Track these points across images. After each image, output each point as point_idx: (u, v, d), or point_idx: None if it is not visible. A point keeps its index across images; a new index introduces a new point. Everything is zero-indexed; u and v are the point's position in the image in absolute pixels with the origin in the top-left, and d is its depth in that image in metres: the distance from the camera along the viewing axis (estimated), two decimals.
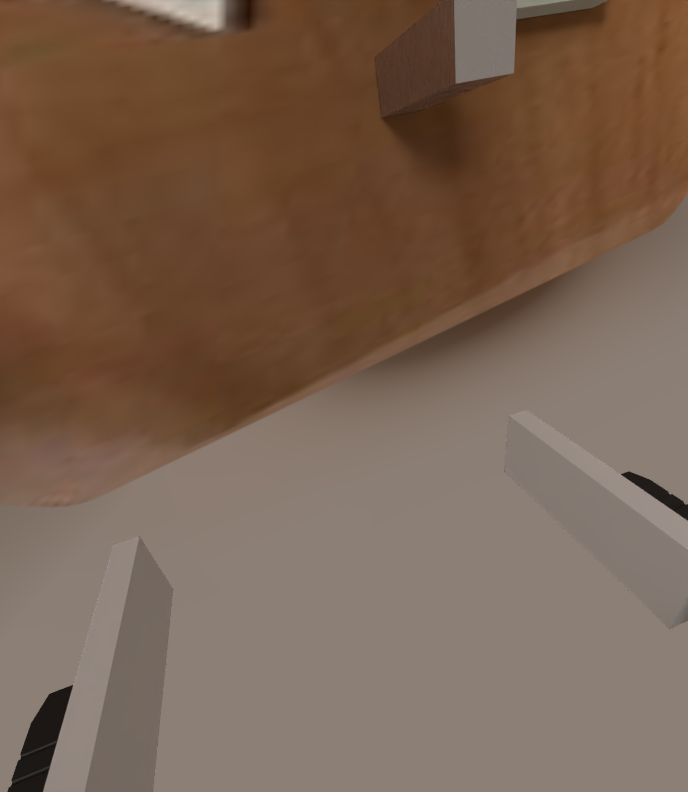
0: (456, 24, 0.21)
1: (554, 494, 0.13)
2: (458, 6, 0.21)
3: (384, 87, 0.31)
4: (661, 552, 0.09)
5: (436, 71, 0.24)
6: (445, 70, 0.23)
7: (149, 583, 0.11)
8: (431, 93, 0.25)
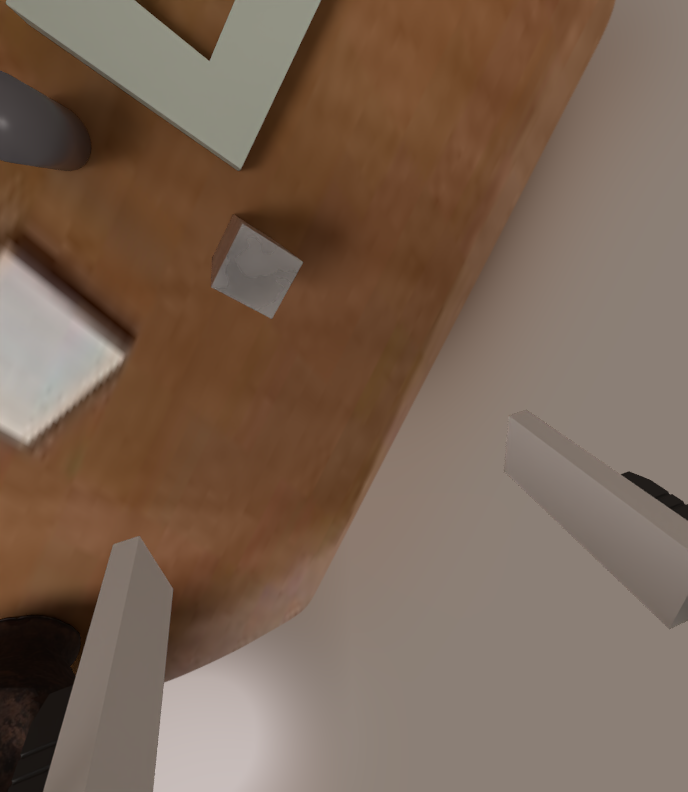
0: (234, 296, 0.23)
1: (554, 494, 0.13)
2: (223, 288, 0.22)
3: None
4: (661, 552, 0.09)
5: None
6: None
7: (149, 583, 0.11)
8: None
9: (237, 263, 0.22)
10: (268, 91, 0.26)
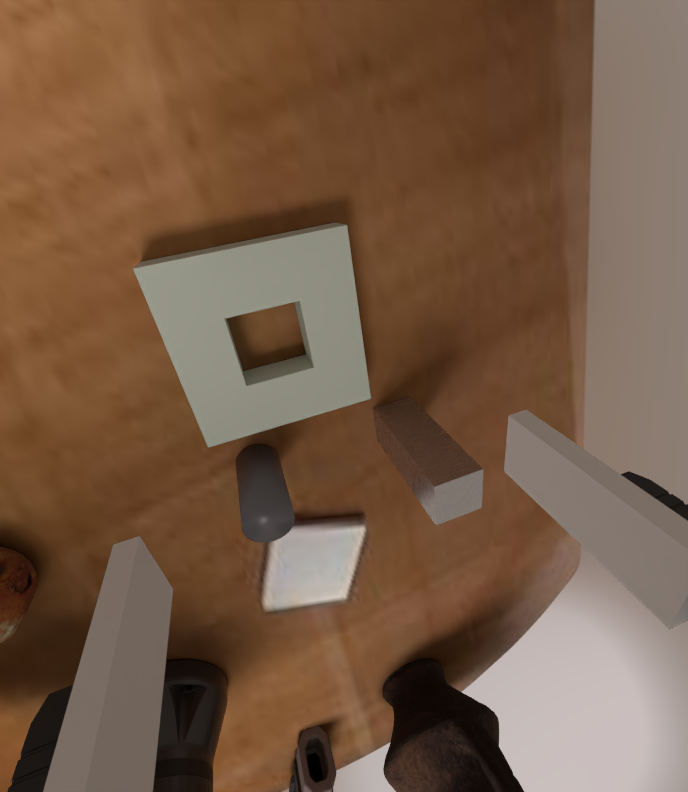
0: (452, 517, 0.29)
1: (554, 494, 0.13)
2: (443, 519, 0.29)
3: None
4: (661, 552, 0.09)
5: None
6: None
7: (149, 583, 0.11)
8: None
9: (443, 504, 0.28)
10: (357, 345, 0.30)
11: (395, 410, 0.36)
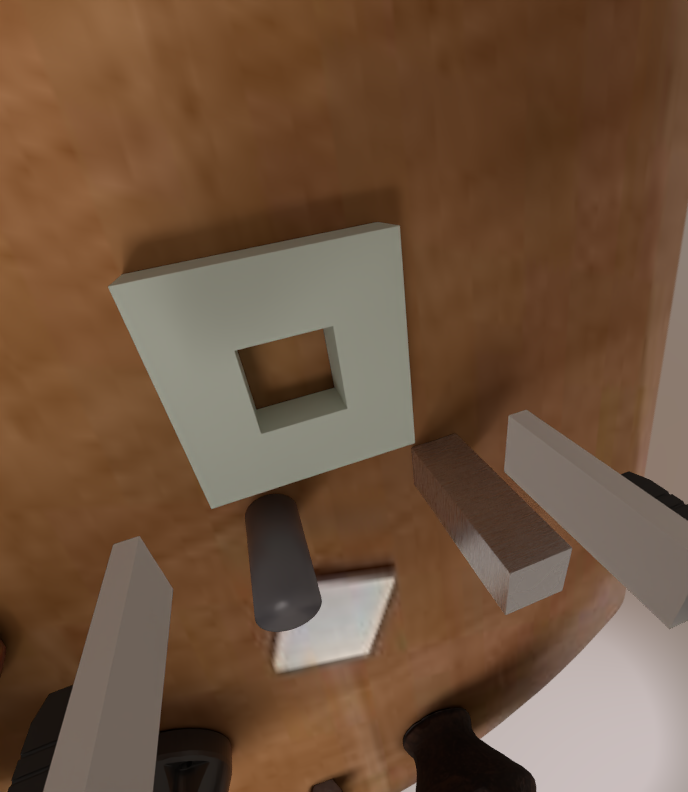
0: (525, 605, 0.23)
1: (554, 494, 0.13)
2: (515, 608, 0.22)
3: None
4: (661, 552, 0.09)
5: None
6: None
7: (149, 583, 0.11)
8: None
9: (518, 591, 0.22)
10: (402, 379, 0.24)
11: (440, 452, 0.30)
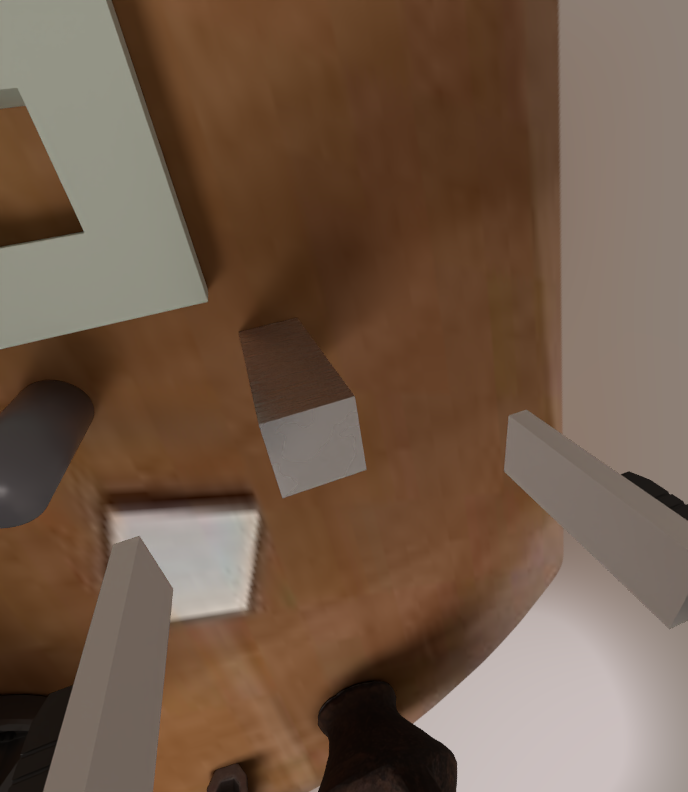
0: (311, 485, 0.17)
1: (554, 494, 0.13)
2: (295, 489, 0.17)
3: None
4: (661, 552, 0.09)
5: None
6: None
7: (149, 583, 0.11)
8: None
9: (288, 459, 0.16)
10: (160, 197, 0.18)
11: (267, 332, 0.24)
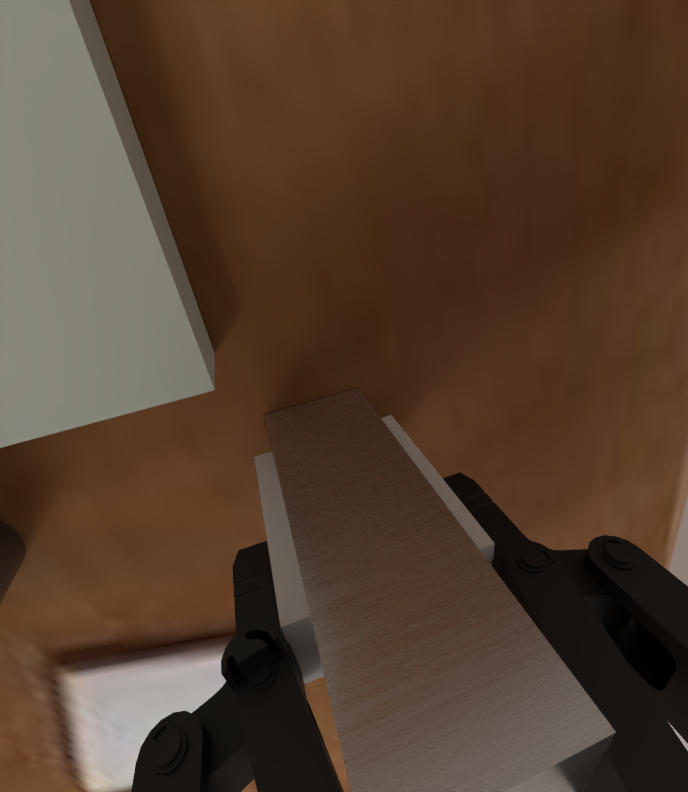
0: None
1: None
2: None
3: None
4: None
5: None
6: None
7: None
8: None
9: None
10: (112, 190, 0.08)
11: (314, 421, 0.14)
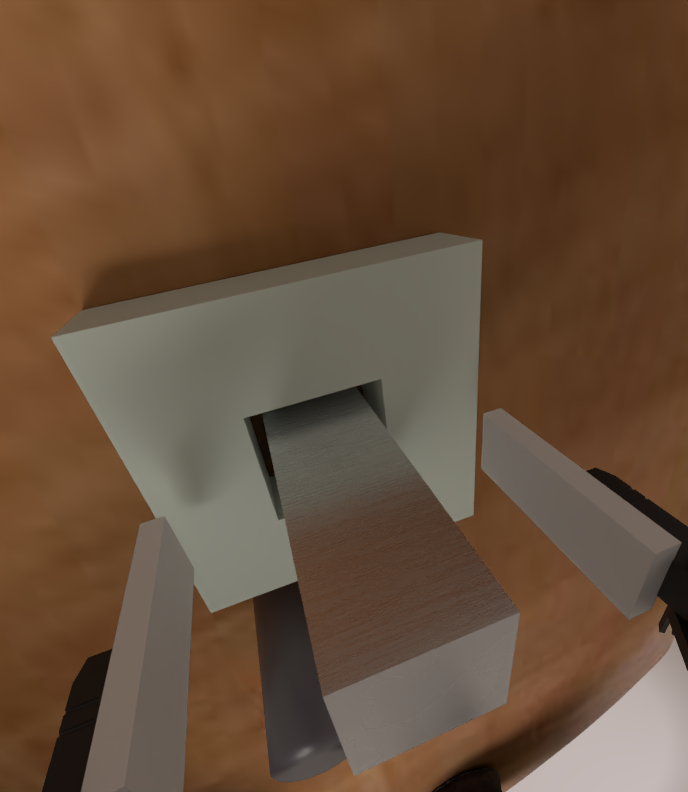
0: (408, 747, 0.09)
1: (525, 490, 0.13)
2: (380, 759, 0.09)
3: None
4: (619, 545, 0.10)
5: None
6: None
7: (174, 560, 0.12)
8: None
9: (373, 727, 0.08)
10: (465, 442, 0.18)
11: None
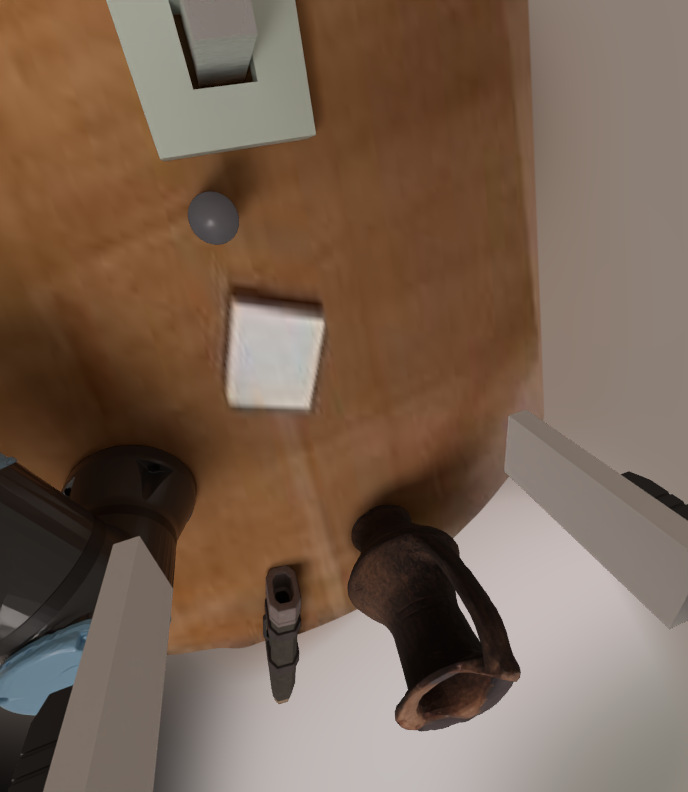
0: (215, 35, 0.24)
1: (554, 494, 0.13)
2: (203, 33, 0.23)
3: (224, 79, 0.33)
4: (661, 552, 0.09)
5: (239, 46, 0.26)
6: (243, 41, 0.25)
7: (149, 583, 0.11)
8: (252, 48, 0.27)
9: None
10: (298, 62, 0.32)
11: None
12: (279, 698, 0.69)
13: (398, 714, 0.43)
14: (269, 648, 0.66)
